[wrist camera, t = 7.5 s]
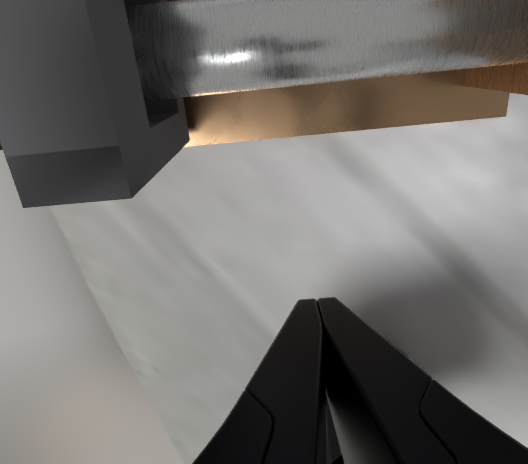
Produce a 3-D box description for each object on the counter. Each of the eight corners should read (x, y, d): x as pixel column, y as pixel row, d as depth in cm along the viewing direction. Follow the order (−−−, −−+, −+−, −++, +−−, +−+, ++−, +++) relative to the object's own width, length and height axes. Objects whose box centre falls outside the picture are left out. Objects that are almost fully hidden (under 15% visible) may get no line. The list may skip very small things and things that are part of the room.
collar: (158, -46, 16) (49, -149, 8) (190, 140, 18) (131, 198, 11) (84, -37, 16) (-95, -129, 8) (126, 146, 19) (23, 207, 11)
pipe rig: (522, -91, 16) (688, -191, 10) (497, 114, 19) (609, 141, 13) (-2, -28, 17) (-163, -79, 11) (53, 156, 20) (-47, 200, 14)
